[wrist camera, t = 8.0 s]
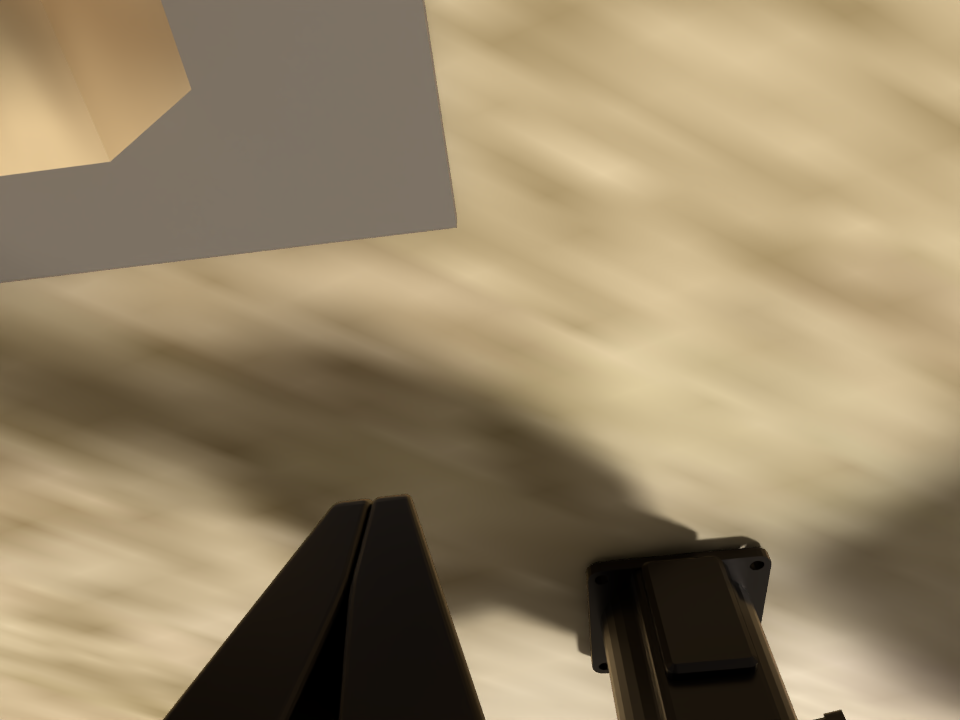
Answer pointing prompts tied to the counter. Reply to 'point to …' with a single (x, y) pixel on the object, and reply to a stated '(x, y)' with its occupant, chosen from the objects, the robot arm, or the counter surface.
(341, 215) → the rubber mat
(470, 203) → the counter surface
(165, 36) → the birch block
